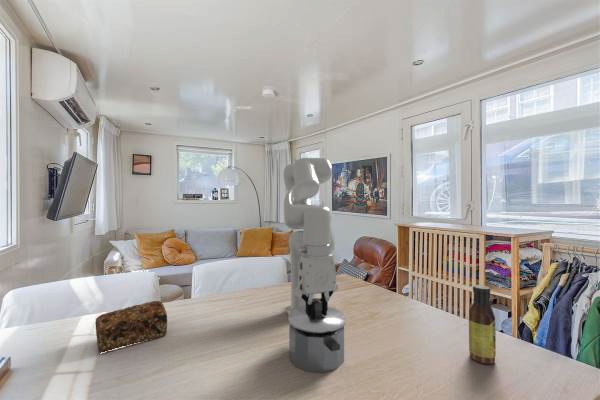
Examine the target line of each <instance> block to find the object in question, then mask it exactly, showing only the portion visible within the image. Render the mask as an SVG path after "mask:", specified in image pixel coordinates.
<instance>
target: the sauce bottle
mask: <svg viewBox="0 0 600 400" xmlns="http://www.w3.org/2000/svg"><path fill="white" fill-rule="evenodd" d="M472 291H473V303H472V304H471V306H470V307H469V310H468V351H469V356H470V358H471V359H472V360H473V361H475V362H478V363H480V364H486V365H491V364H494V363H495V362H496V355H497V354H496V352H497V350H496V348H497V347H496V346H497V345H496V338H497V337H496V336H497V335H496V334H497V333H496V332H497V331H496V316H495V313H494V311H493V308H492V305H491V302H490V298H491V297H490V294H491V288H490V287H489V286H486V285H482V284H481V285H480V284H474V285H472Z"/></svg>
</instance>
